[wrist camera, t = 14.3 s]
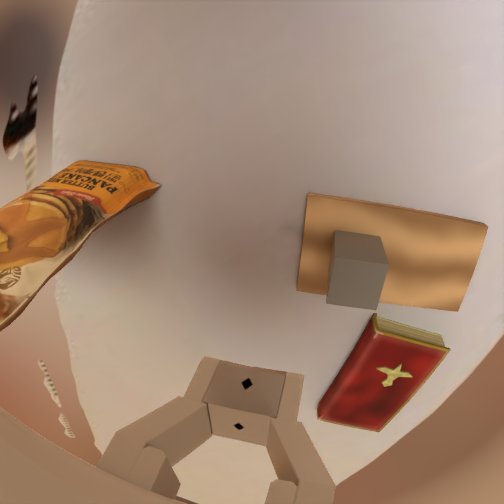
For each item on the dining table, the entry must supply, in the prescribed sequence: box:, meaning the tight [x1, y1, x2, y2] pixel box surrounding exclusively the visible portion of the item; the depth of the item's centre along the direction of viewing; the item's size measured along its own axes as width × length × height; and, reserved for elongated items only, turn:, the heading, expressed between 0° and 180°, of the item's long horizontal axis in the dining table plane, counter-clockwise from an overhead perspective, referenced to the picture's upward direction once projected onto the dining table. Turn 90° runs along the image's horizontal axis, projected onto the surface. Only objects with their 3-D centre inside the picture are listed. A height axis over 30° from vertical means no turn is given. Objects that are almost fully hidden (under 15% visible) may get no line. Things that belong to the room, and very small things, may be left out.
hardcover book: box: [317, 313, 450, 432], centre depth 42 cm, size 12×21×4 cm, turn 167°
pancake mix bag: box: [0, 161, 161, 331], centre depth 28 cm, size 7×19×28 cm, turn 82°
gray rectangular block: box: [326, 230, 389, 310], centre depth 32 cm, size 5×5×7 cm
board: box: [297, 193, 488, 312], centre depth 35 cm, size 12×22×1 cm, turn 88°
